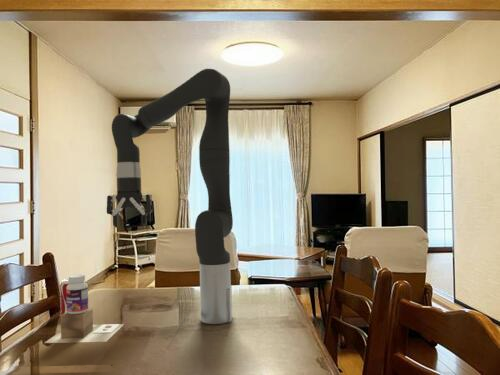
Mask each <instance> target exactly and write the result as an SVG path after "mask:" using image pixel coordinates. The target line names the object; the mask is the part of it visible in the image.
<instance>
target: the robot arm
mask: <svg viewBox="0 0 500 375" xmlns="http://www.w3.org/2000/svg"><path fill="white" fill-rule="evenodd" d="M230 84H231V83H230V81H229V79H228V78H227V77H226V76H225V75H224V74H223V73H221V72H220V71H218V70H217V69H215V68H212V67H208V68H206V67H205V68H204V69H202V70H200V71H198V72H196V74H194V75H193V76H191V77H190V78H189V79H188V80H186V81H184V82H183V83H182V84H180V85H179V86H177V87H176V88H174V89H173V90H171V91H170V92H168V93H166V94H165V95H163V96H161V97H159V98H157V99H155V100H153V101H151V102H148V103H146V104H144V105H143V106H141V107H140V108H139V109H138V111H137V114H136V115H134V116H133V115H129V114H127V113H126V114H125V113H119V114H117V115H116V116H114V118H113V119H112V122H111V132H112V137H113V141H114V142H113V143H114V145H115V148H116V160H117V161H116V164H117V165H116V174H115V175H116V176H115V177H116V193H117V194H116V195H112V194H111V195H107V196H106V214H107V215H111V216H112V225H113V226H114V227H115V228H120V213H121V212H122V210H123V209H129V208H130V209H137V211H139V213H140V214H141V215H140V222H141V227H142V228H144V227H146V225H148V214H151V213H153V211H154V210H153V199H152V194H150V193H148V194H142V171H141V170H142V169H141V162H140V161H141V159H140V155H141V154H140V148H139V146H138V145H137V144H136V143H134V139H135V138H138V137H141V136H143V135H144V134H146V133H147V132H148V131H150V129H152V128H153V127H154V126H156V125H159V124H162V123H163V122H165V121H168V120H170V119H171V118H173V116H175V115H176V114H177V113H178V112H179V111H180V110H181V109H183V108H184V107H185V106H187V105H189V104H191V103H194V102H197V101H200V100H204V102H205V115H206V116H205V122H204V127H203V130H202V133H201V136H200V140H199V146H198V147H199V148H198V150H199V151H198V152H199V153H198V156H199V157H198V161H199V169H200V173H201V176H202V179H203V180H204V181H203V182H204V184H205V186H206V187H205V188H206V191H207V198H208V203H207V204H208V207H207V208H208V209H206V210H204V211H201V212H200V213H199V214H198V216H197V217H196V218H195V224H194V234H195V236H194V238H195V250H196V254H197V256H198V259H199V292H200V294H199V295H200V296H199V298H200V321H201V322H202V323H204V324H207V325H221V324H225V323H232V320H233V296H232V295H233V294H232V290H233V288H232V284H231V283H232V282H231V280H232V279H231V254H230V252H229V251H227V250H226V248H225V238H226V237H228V236H229V235H230V234H231V232H232V229H233V225H234V223H233V222H234V218H233V212H232V203H231V193H230V192H231V191H230V190H231V189H230V188H231V187H230V186H231V185H230V184H231V180H230V179H231V178H230V173H231V172H230V163H231V159H230V156H231V155H230V131H229V129H230V128H229V110H230V100H231V85H230ZM143 200H144V202H146V209H145V207H144V205H143V204H142V203H141V202H142V201H143ZM116 201H117V202H118V204H117V205H116V206H115V208H114V203H115V202H116Z"/></svg>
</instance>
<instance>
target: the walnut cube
mask: <svg viewBox="0 0 500 375" xmlns="http://www.w3.org/2000/svg"><path fill="white" fill-rule="evenodd" d="M93 314H94V313H93V308H88V311H87V312H85V313H81V314H68V313H67V312H66V313H64V314H62V315H61V314H60V331H61V339H65V338H84V337H86V336H87V335H88V334H89V333H91V332H92V331H93V325H94V324H93V323H94V319H93V318H94V316H93Z"/></svg>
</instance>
